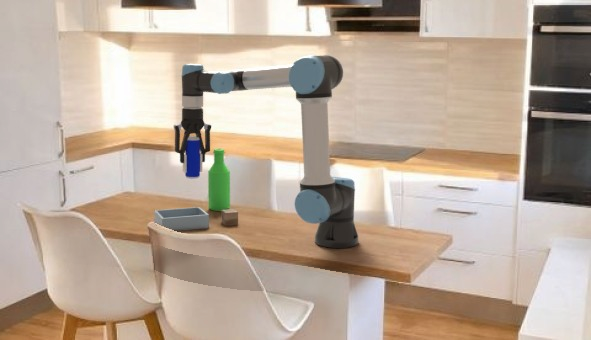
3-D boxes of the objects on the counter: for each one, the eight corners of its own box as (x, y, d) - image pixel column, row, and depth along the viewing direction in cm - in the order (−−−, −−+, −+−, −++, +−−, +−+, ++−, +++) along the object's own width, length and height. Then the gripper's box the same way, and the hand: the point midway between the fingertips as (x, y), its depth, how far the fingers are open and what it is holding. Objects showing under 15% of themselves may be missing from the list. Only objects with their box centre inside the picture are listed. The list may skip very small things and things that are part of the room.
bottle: (211, 212, 303) (211, 151, 298) (206, 207, 311) (205, 148, 306) (232, 210, 306) (232, 150, 301) (226, 205, 314) (226, 147, 309)
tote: (209, 227, 278) (209, 214, 277) (162, 232, 272) (162, 218, 271) (199, 219, 291) (199, 206, 290) (154, 223, 284) (154, 210, 283)
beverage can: (202, 177, 273) (202, 136, 270) (194, 179, 268) (194, 138, 266) (190, 175, 275) (190, 135, 272) (182, 177, 271) (182, 136, 268)
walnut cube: (238, 224, 284) (238, 211, 283) (225, 225, 282) (225, 212, 281) (234, 221, 288) (234, 208, 288) (221, 222, 287) (221, 209, 286)
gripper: (214, 106, 274) (213, 168, 278) (165, 106, 267) (165, 170, 271) (220, 108, 267) (219, 172, 271) (169, 109, 260) (170, 174, 265)
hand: (192, 171), depth 271 cm, fingers closed on beverage can, 5 cm apart
